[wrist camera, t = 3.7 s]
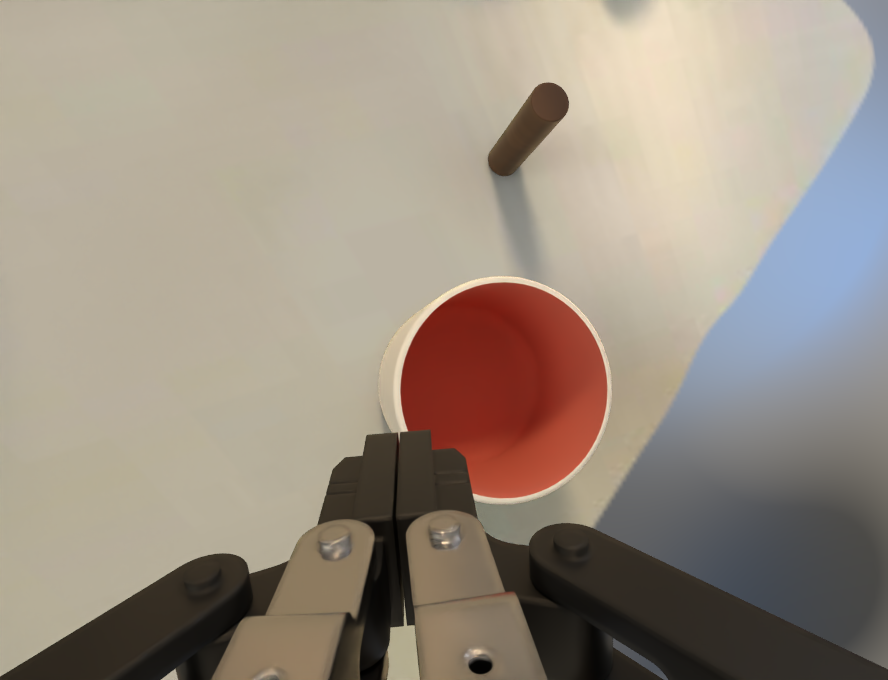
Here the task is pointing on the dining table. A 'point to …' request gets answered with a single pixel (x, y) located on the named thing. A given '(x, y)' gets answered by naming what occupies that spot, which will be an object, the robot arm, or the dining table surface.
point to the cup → (501, 385)
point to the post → (529, 128)
